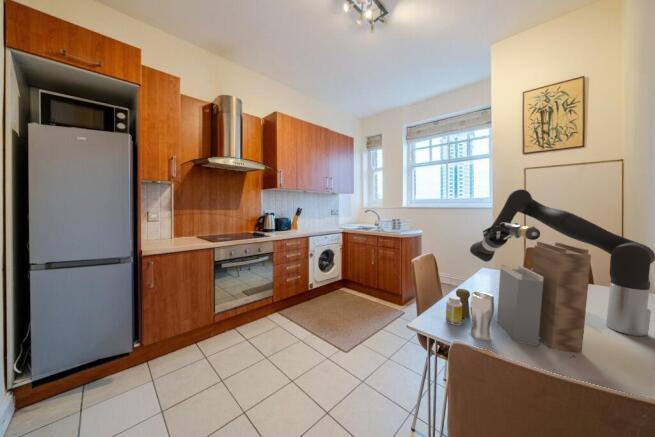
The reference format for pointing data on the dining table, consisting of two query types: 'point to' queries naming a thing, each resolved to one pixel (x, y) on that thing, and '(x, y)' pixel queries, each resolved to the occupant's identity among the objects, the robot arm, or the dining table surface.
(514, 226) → the black gold-banded rod
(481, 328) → the beer glass
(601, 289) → the dining table surface
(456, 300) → the supplement bottle
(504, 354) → the dining table surface
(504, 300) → the grey magazine holder
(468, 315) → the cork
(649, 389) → the dining table surface
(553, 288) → the tall stand
